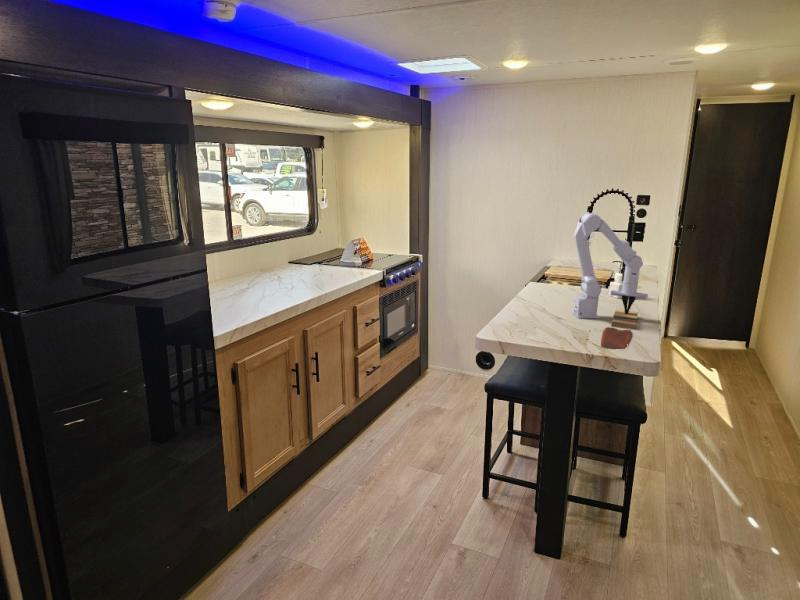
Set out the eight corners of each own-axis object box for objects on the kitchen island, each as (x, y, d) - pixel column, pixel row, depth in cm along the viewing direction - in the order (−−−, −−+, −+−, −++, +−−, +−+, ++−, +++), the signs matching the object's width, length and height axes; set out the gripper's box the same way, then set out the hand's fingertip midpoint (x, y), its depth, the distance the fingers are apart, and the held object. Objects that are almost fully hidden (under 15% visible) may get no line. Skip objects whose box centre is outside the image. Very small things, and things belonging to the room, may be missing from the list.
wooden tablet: (604, 329, 210) (605, 325, 210) (631, 333, 206) (632, 329, 206) (596, 348, 187) (597, 344, 187) (627, 353, 183) (627, 348, 183)
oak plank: (636, 323, 217) (636, 318, 217) (613, 319, 221) (613, 315, 220) (637, 316, 227) (638, 312, 226) (615, 313, 230) (615, 309, 230)
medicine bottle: (620, 294, 267) (623, 271, 264) (629, 298, 260) (632, 274, 257) (608, 295, 265) (611, 272, 262) (617, 298, 258) (620, 275, 255)
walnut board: (635, 329, 209) (636, 323, 208) (611, 326, 212) (612, 320, 212) (636, 324, 216) (637, 318, 215) (612, 321, 219) (613, 315, 219)
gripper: (649, 282, 222) (645, 313, 225) (613, 278, 228) (609, 308, 231) (649, 285, 216) (644, 317, 219) (611, 281, 222) (607, 312, 225)
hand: (626, 313), depth 225 cm, fingers closed, pressing on oak plank
